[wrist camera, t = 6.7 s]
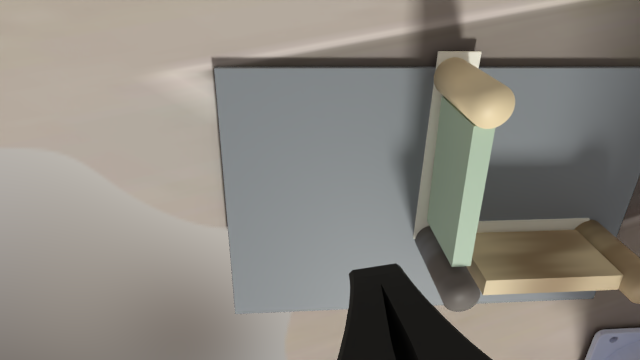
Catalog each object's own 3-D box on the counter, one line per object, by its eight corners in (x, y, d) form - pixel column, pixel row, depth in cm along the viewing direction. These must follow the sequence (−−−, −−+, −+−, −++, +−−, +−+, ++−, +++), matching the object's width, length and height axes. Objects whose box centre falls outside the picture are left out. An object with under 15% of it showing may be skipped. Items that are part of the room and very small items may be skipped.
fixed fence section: (604, 219, 23) (670, 273, 20) (595, 244, 24) (656, 302, 20) (416, 224, 23) (445, 282, 19) (413, 250, 23) (440, 312, 19)
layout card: (680, 50, 20) (687, 52, 20) (590, 294, 26) (594, 299, 26) (213, 49, 18) (212, 50, 18) (235, 310, 25) (235, 315, 24)
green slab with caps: (450, 218, 22) (482, 270, 19) (418, 220, 22) (444, 272, 19) (473, 56, 19) (519, 82, 15) (435, 57, 19) (472, 84, 15)
